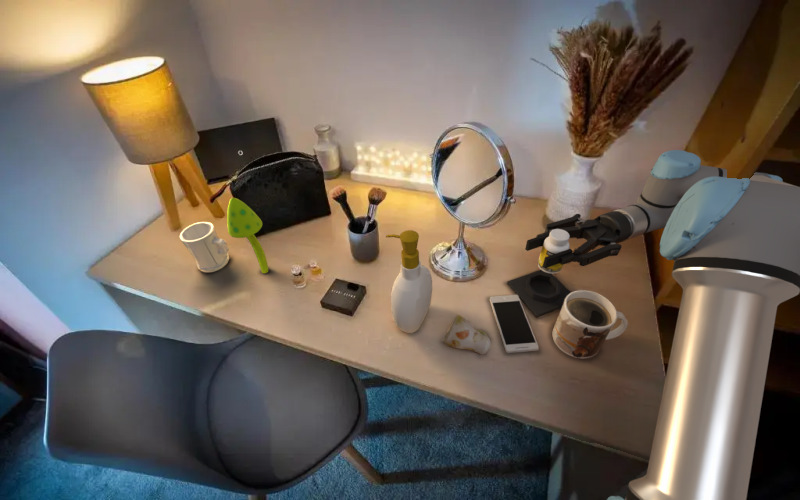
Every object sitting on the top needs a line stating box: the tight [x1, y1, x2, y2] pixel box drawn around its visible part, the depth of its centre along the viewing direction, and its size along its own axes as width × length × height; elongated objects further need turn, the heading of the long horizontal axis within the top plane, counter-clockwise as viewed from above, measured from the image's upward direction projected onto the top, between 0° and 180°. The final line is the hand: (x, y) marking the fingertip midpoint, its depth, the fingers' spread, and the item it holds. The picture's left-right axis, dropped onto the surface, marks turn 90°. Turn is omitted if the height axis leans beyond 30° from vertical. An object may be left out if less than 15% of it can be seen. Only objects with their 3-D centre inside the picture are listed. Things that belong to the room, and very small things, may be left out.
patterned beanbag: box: [443, 314, 492, 355], centre depth 77 cm, size 8×10×10 cm
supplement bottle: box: [537, 229, 571, 275], centre depth 79 cm, size 5×5×10 cm
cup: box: [178, 221, 230, 273], centre depth 100 cm, size 10×9×12 cm
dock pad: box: [506, 269, 572, 319], centre depth 87 cm, size 12×12×3 cm
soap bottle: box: [385, 229, 433, 334], centre depth 76 cm, size 14×9×26 cm, turn 158°
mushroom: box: [226, 197, 269, 274], centre depth 92 cm, size 8×8×25 cm
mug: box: [551, 289, 629, 359], centre depth 74 cm, size 10×12×11 cm
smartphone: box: [489, 294, 540, 354], centre depth 82 cm, size 7×16×1 cm, turn 3°
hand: (536, 254), depth 77 cm, fingers closed on supplement bottle, 5 cm apart
